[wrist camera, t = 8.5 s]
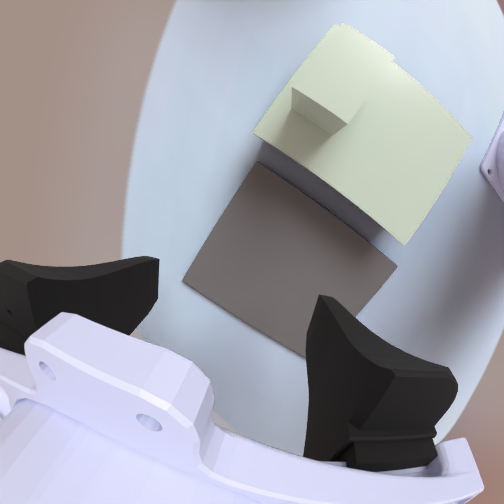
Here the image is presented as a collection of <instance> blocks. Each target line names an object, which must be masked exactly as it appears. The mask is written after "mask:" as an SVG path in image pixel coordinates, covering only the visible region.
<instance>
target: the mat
mask: <svg viewBox="0 0 504 504" xmlns="http://www.w3.org/2000/svg"><path fill="white" fill-rule="evenodd" d="M397 267H398V266H397V265H396V264H395V263H393V262H392V261H391V260H390V259H389V258H387V257H386V256H385V255H384V254H383V253H381V252H380V251H379V250H378V249H377V248H375V247H374V246H373V245H372V244H370V243H369V242H368V241H367V240H365V239H364V238H363V237H362V236H360V235H359V234H358V233H357V232H355V231H354V230H353V229H352V228H350V227H349V226H348V225H346V224H345V223H344V222H342V221H341V220H340V219H339V218H337V217H336V216H335V215H333V214H332V213H331V212H329V211H328V210H327V209H325V208H324V207H322V206H321V205H320V204H318V203H317V202H316V201H314V200H313V199H311V198H310V197H309V196H307V195H306V194H304V193H303V192H302V191H300V190H299V189H297V188H296V187H294V186H293V185H292V184H290V183H289V182H287V181H286V180H284V179H283V178H281V177H280V176H278V175H277V174H275V173H274V172H272V171H271V170H269V169H268V168H266V167H265V166H263V165H262V164H260V163H259V162H256V164H255V165H254V167H253V168H252V170H251V171H250V173H249V174H248V176H247V177H246V179H245V180H244V182H243V183H242V185H241V186H240V188H239V189H238V191H237V192H236V194H235V195H234V197H233V199H232V200H231V202H230V203H229V205H228V206H227V208H226V209H225V211H224V213H223V214H222V216H221V217H220V219H219V221H218V222H217V224H216V225H215V227H214V229H213V230H212V232H211V233H210V235H209V237H208V238H207V240H206V241H205V243H204V245H203V246H202V248H201V250H200V251H199V253H198V255H197V256H196V258H195V260H194V261H193V263H192V265H191V266H190V268H189V270H188V271H187V273H186V275H185V276H184V278H183V280H182V281H184V282H185V283H187V284H188V285H190V286H191V287H193V288H194V289H196V290H197V291H198V292H200V293H201V294H203V295H204V296H206V297H207V298H209V299H210V300H212V301H213V302H215V303H217V304H218V305H220V306H221V307H223V308H224V309H226V310H227V311H229V312H230V313H232V314H234V315H235V316H237V317H238V318H240V319H241V320H243V321H245V322H246V323H248V324H249V325H251V326H253V327H254V328H256V329H257V330H259V331H261V332H262V333H264V334H266V335H267V336H269V337H271V338H272V339H274V340H276V341H277V342H279V343H281V344H282V345H284V346H286V347H287V348H289V349H291V350H293V351H294V352H296V353H298V354H300V355H301V356H303V357H305V358H306V334H307V330H308V327H309V324H310V321H311V318H312V315H313V312H314V309H315V306H316V302H317V299H318V296H319V294H320V295H325V296H330V297H333V298H335V299H336V300H337V301H338V302H339V303H340V304H342V305H343V306H344V307H345V308H346V309H347V310H348V311H349V312H350V313H351V314H352V315H353V316H354V317H355V316H356V315H357V314H358V313H359V312H360V311H361V310H362V309H363V308H364V306H365V305H366V304H367V303H368V302H369V301H370V300H371V298H372V297H373V296H374V295H375V294H376V293H377V291H378V290H379V289H380V288H381V287H382V285H383V284H384V283H385V282H386V281H387V279H388V278H389V277H390V276H391V274H392V273H393V272H394V271H395V269H396V268H397Z"/></svg>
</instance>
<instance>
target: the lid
mask: <svg viewBox="0 0 504 504" xmlns="http://www.w3.org/2000/svg"><path fill="white" fill-rule="evenodd" d="M394 57H395V56H393V55H392V54H391V53H389V52H388V51H387V50H385V49H384V48H382V47H381V46H380V45H378V44H377V43H375V42H374V41H372V40H371V39H369V38H368V37H366V36H365V35H363V34H362V33H360V32H358V31H357V30H355V29H354V28H352V27H350V26H349V25H347V24H345V23H344V22H343V23H342V24H341V26H338V25H337V24H334V25H333V26H332V28H331V29H330V30H329V31H328V32H327V34H326V35H325V36H324V37H323V38H322V40H321V41H320V42H319V43H318V45H317V46H316V47H315V48H314V49H313V51H312V52H311V53H310V54H309V56H308V57H307V58H306V60H305V61H304V62H303V63H302V65H301V66H300V67H299V69H298V70H297V71H296V72H295V74H294V75H293V76H292V78H291V79H290V80H289V82H288V83H287V84H286V86H285V87H284V88H283V90H282V91H281V93H280V94H279V95H278V97H277V98H276V99H275V101H274V102H273V104H272V105H271V106H270V108H269V109H268V111H267V112H266V113H265V115H264V116H263V118H262V119H261V120H260V122H259V123H258V125H257V126H256V128H255V129H254V131H253V132H252V133H253V134H255V135H256V136H258V137H260V138H261V139H263V140H264V141H266V142H267V143H269V144H271V145H272V146H274V147H275V148H277V149H278V150H280V151H281V152H283V153H284V154H286V155H287V156H289V157H290V158H292V159H293V160H295V161H296V162H298V163H299V164H301V165H302V166H304V167H305V168H306V169H308V170H309V171H311V172H312V173H313V174H315V175H316V176H318V177H319V178H320V179H322V180H323V181H325V182H326V183H327V184H329V185H330V186H331V187H333V188H334V189H335V190H337V191H338V192H339V193H341V194H342V195H343V196H344V197H346V198H347V199H348V200H350V201H351V202H352V203H353V204H355V205H356V206H357V207H359V208H360V209H361V210H362V211H364V212H365V213H366V214H367V215H368V216H370V217H371V218H372V219H373V220H374V221H376V222H377V223H378V224H379V225H380V226H382V227H383V228H384V229H385V230H386V231H387V232H389V233H390V234H391V235H392V236H393V237H394V238H396V239H397V240H398V241H399V242H400V243H401V244H403V245H404V246H405V245H406V244H407V242H408V241H409V240H410V238H411V237H412V235H413V234H414V233H415V231H416V230H417V228H418V227H419V226H420V224H421V223H422V221H423V220H424V218H425V217H426V215H427V214H428V212H429V211H430V209H431V208H432V206H433V205H434V203H435V202H436V200H437V198H438V197H439V195H440V194H441V192H442V191H443V189H444V187H445V186H446V184H447V182H448V181H449V179H450V177H451V176H452V174H453V172H454V170H455V169H456V167H457V165H458V163H459V162H460V160H461V158H462V156H463V154H464V153H465V151H466V149H467V147H468V145H469V143H470V141H471V139H472V137H471V136H470V135H469V133H468V132H467V131H466V130H465V129H464V128H463V126H462V125H461V124H460V123H459V122H458V121H457V120H456V119H455V118H454V117H453V116H452V114H451V113H450V112H449V111H448V110H447V109H446V108H445V107H444V106H443V105H442V104H441V103H440V102H439V101H438V100H437V99H436V98H435V97H434V96H433V95H431V94H430V93H429V92H428V91H427V90H426V89H425V88H424V87H423V86H422V85H421V84H419V83H418V82H417V81H416V80H415V79H414V78H412V77H411V76H410V75H409V74H408V73H406V72H405V71H404V70H403V69H402V68H400V67H399V66H398V65H396V64H395V63H394V62H393V61H392V60H393V59H394Z"/></svg>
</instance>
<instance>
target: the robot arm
mask: <svg viewBox="0 0 504 504" xmlns="http://www.w3.org/2000/svg"><path fill="white" fill-rule="evenodd" d="M480 169H481V171H482V173H483V174H484V176H485V177H486V178H487V180H488V181H489V182H490V184H491V185H492V187H493V188H494V189H495V191H496V192H497V194H498V195H499V197H500V198H501V200H502V201H503V203H504V113H503V115H502V118H501V120H500V123H499V125H498V127H497V130H496V132H495V134H494V137H493V139H492V141H491V143H490V145H489V148H488V150H487V152H486V154H485V156H484V158H483V160H482V162H481V164H480ZM488 169H489V172H490V173H489V174H488ZM158 278H159V259H157V258H153V257H149V256H141V257H134V258H128V259H123V260H118V261H114V262H108V263H102V264H96V265H88V266H77V267H51V266H50V267H49V266H39V265H32V264H26V263H21V262H17V261H12V260H5V261H3V262H1V263H0V504H465V503H466V502H468V501H469V500H471V499H472V498H473V497H475V496H476V495H478V494H479V493H480V492H482V491H483V489H484V486H483V482H482V480H481V477H480V474H479V471H478V468H477V466H476V463H475V460H474V458H473V455H472V453H471V450H470V448H469V445H468V443H467V441H466V439H465V438H458V439H453V440H447V441H444V442H440V443H439V444H437V445H434V442H433V439H432V438H434V437H435V436H436V434H437V432H436V429H435V427H434V426H435V425H436V424H437V422H438V421H439V420H440V419H441V418H442V416H443V415H444V414H445V413H446V411H447V410H448V409H449V408H450V406H451V404H452V403H453V401H454V400H455V397H456V395H457V392H458V383H457V381H456V379H455V377H454V376H453V374H452V372H451V371H450V369H449V368H448V367H445V366H441V365H438V364H435V363H431V362H428V361H425V360H422V359H420V358H418V357H415V356H413V355H410V354H408V353H406V352H404V351H402V350H400V349H398V348H396V347H395V346H393V345H391V344H389V343H388V342H386V341H384V340H383V339H381V338H380V337H379V336H377V335H376V334H374V333H373V332H372V331H370V330H369V329H368V328H367V327H365V326H364V325H363V324H362V323H361V322H359V321H358V320H357V319H356V318H355V317H354V316H353V315H352V314H351V313H350V312H349V311H348V310H347V309H346V308H345V307H344V306H343V305H342V304H340V303H339V302H338V301H337V300H336V299H335V298H333V297H330V296H325V295H320V294H319V296H318V299H317V302H316V306H315V309H314V312H313V315H312V318H311V321H310V324H309V327H308V330H307V334H306V363H307V375H308V387H309V407H308V421H307V431H306V440H305V447H304V454H303V457H302V456H299V455H295V454H292V453H289V452H286V451H283V450H279V449H277V448H274V447H271V446H268V445H265V444H262V443H260V442H257V441H254V440H252V439H249V438H246V437H244V436H242V435H239V434H237V433H234V432H232V431H230V430H227V429H225V428H223V427H220V426H218V425H216V424H215V423H214V422H213V409H214V402H215V397H214V393H213V389H212V385H211V381H210V380H209V379H208V378H207V377H206V376H205V375H204V374H203V373H202V372H201V370H200V369H199V368H198V367H197V366H196V365H195V364H194V363H193V362H192V361H190V360H188V359H186V358H184V357H182V356H180V355H178V354H176V353H174V352H172V351H170V350H168V349H166V348H163V347H160V346H157V345H154V344H151V343H148V342H145V341H142V340H139V339H136V338H134V337H131V336H129V335H130V334H131V333H132V332H133V331H134V330H135V328H136V327H137V326H138V325H139V324H140V323H141V322H142V320H143V319H144V318H145V317H146V316H147V315H148V313H149V312H150V310H151V309H152V307H153V306H154V304H155V302H156V301H157V299H158Z"/></svg>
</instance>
